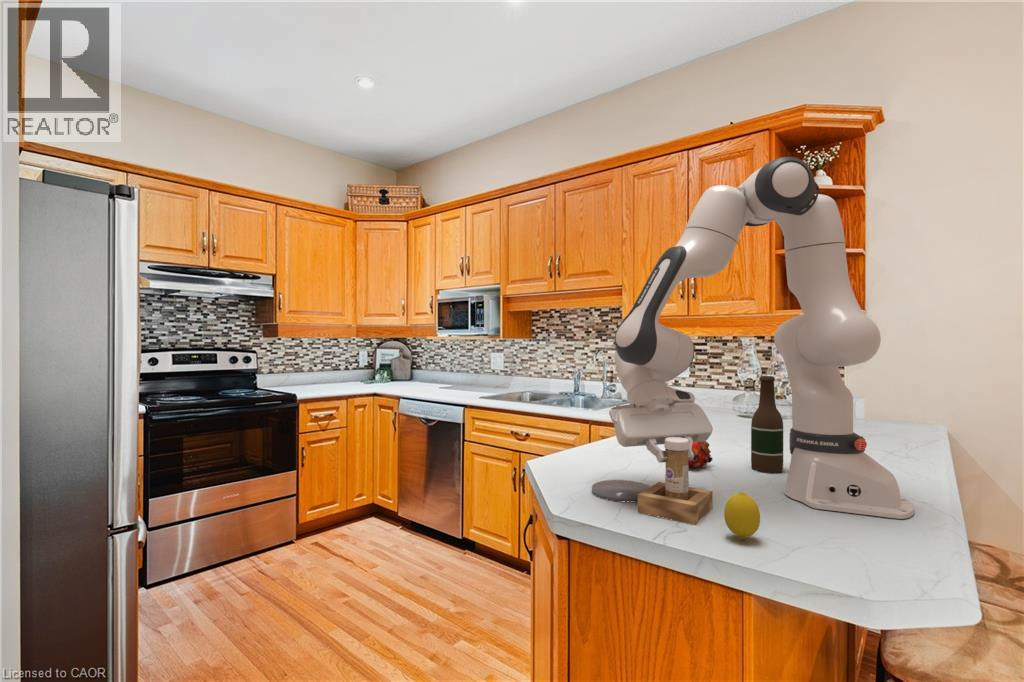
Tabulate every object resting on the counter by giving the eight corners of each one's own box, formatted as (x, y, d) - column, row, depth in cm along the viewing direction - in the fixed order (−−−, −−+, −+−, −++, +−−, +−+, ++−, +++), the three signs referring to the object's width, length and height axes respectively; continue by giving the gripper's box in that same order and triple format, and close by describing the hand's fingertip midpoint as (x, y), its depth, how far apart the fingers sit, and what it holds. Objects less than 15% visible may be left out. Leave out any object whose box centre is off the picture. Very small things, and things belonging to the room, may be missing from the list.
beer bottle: (746, 465, 137) (746, 374, 136) (777, 466, 136) (777, 375, 135) (756, 473, 129) (756, 377, 129) (789, 474, 128) (789, 377, 128)
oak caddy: (712, 508, 103) (712, 491, 103) (694, 524, 94) (694, 505, 94) (658, 498, 109) (658, 481, 109) (637, 512, 101) (637, 494, 101)
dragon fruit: (696, 466, 142) (696, 485, 131) (670, 447, 143) (668, 463, 132) (716, 444, 139) (718, 460, 128) (689, 424, 141) (689, 439, 130)
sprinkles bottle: (660, 506, 102) (660, 438, 102) (672, 501, 105) (671, 435, 105) (682, 512, 98) (681, 442, 98) (693, 506, 102) (693, 438, 101)
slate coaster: (661, 490, 115) (661, 486, 115) (637, 506, 104) (637, 501, 104) (608, 481, 122) (608, 476, 122) (581, 494, 112) (581, 489, 112)
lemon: (764, 547, 84) (764, 498, 84) (728, 544, 85) (728, 495, 85) (755, 534, 89) (755, 488, 89) (721, 532, 90) (721, 486, 90)
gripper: (610, 396, 106) (633, 454, 97) (699, 392, 111) (729, 447, 102) (602, 415, 111) (623, 472, 101) (688, 410, 115) (715, 464, 106)
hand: (676, 460), depth 102 cm, fingers closed on sprinkles bottle, 4 cm apart
